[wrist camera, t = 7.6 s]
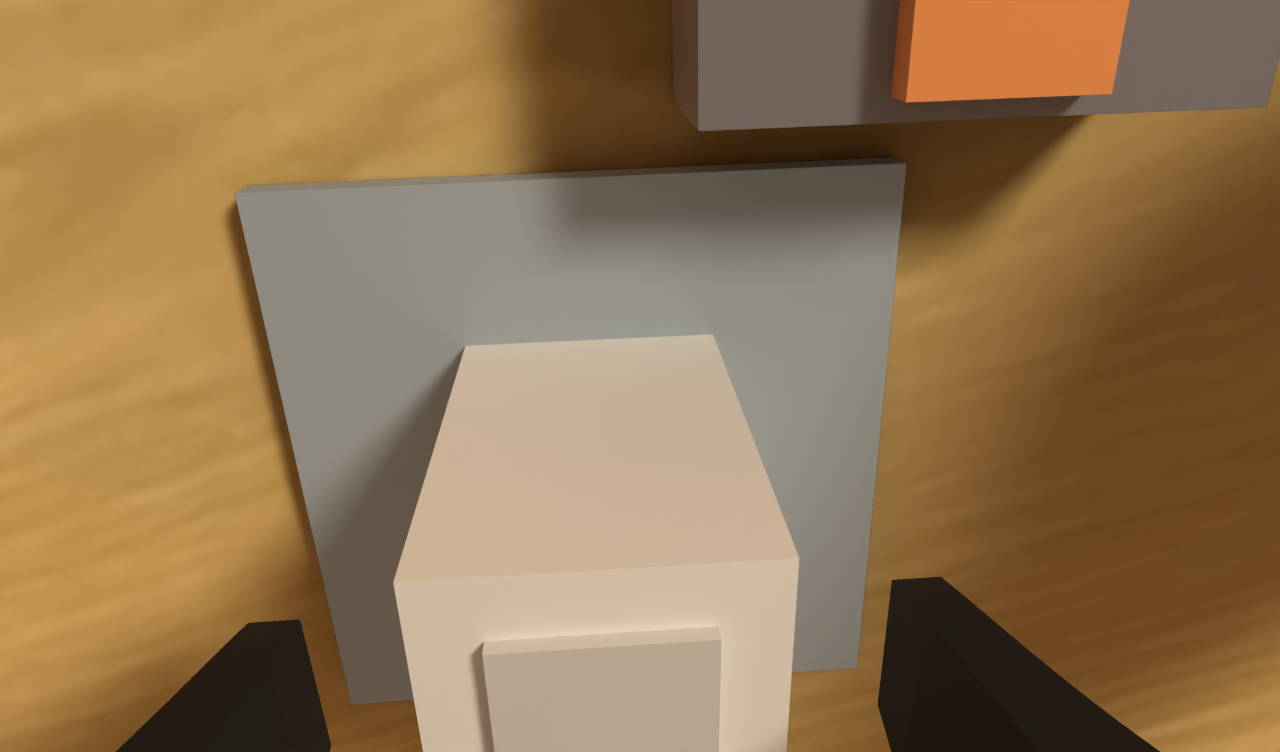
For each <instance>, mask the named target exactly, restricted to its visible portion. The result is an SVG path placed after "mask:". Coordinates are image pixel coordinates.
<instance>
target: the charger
mask: <svg viewBox="0 0 1280 752" xmlns="http://www.w3.org/2000/svg"><path fill="white" fill-rule="evenodd" d="M798 571H799V556H798V553H797V551H796V548H795V546H794V543H793V540H792V538H791V535H790V533H789V530H788V527H787V525H786V522H785V520H784V517H783V514H782V512H781V509H780V507H779V504H778V502H777V499H776V496H775V494H774V491H773V489H772V486H771V483H770V481H769V478H768V476H767V473H766V470H765V468H764V465H763V463H762V460H761V458H760V455H759V452H758V450H757V447H756V445H755V442H754V439H753V437H752V434H751V432H750V429H749V427H748V424H747V421H746V419H745V416H744V414H743V411H742V408H741V406H740V403H739V401H738V398H737V395H736V393H735V390H734V388H733V385H732V383H731V380H730V377H729V375H728V372H727V370H726V367H725V364H724V362H723V359H722V357H721V354H720V351H719V349H718V346H717V344H716V341H715V339H714V336H713V334H710V335H689V336H667V337H645V338H624V339H602V340H580V341H559V342H537V343H515V344H494V345H472V346H465V349H464V352H463V355H462V358H461V362H460V365H459V368H458V372H457V375H456V378H455V381H454V385H453V388H452V391H451V395H450V398H449V401H448V404H447V408H446V411H445V414H444V418H443V421H442V424H441V427H440V431H439V434H438V437H437V440H436V444H435V447H434V450H433V454H432V457H431V460H430V463H429V467H428V470H427V473H426V477H425V480H424V483H423V486H422V490H421V493H420V496H419V500H418V503H417V506H416V509H415V513H414V516H413V519H412V522H411V526H410V529H409V532H408V536H407V539H406V542H405V545H404V549H403V552H402V555H401V559H400V562H399V565H398V568H397V572H396V575H395V578H394V582H393V584H394V590H395V595H396V601H397V607H398V612H399V618H400V624H401V629H402V635H403V641H404V647H405V652H406V658H407V664H408V669H409V675H410V681H411V686H412V692H413V698H414V703H415V709H416V715H417V720H418V726H419V732H420V737H421V743H422V749H423V752H786V750H787V735H788V721H789V706H790V691H791V676H792V661H793V646H794V631H795V616H796V601H797V586H798Z"/></svg>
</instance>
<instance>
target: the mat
mask: <svg viewBox="0 0 1280 752" xmlns="http://www.w3.org/2000/svg"><path fill="white" fill-rule="evenodd" d="M906 165H907V163H905V162H903V161H902V160H900V159H898V158H896V157H887V158H865V159H842V160H819V161H797V162H774V163H751V164H729V165H706V166H684V167H661V168H638V169H616V170H593V171H570V172H548V173H525V174H502V175H480V176H457V177H435V178H412V179H389V180H367V181H344V182H321V183H299V184H276V185H253V186H245V187H244V188H242V189H241V190H239V191H237V192H236V193H235V197H236V202H237V206H238V210H239V215H240V219H241V223H242V228H243V232H244V237H245V241H246V245H247V250H248V254H249V259H250V263H251V267H252V272H253V276H254V280H255V285H256V289H257V294H258V298H259V302H260V307H261V311H262V316H263V320H264V324H265V329H266V333H267V337H268V342H269V346H270V351H271V355H272V359H273V364H274V368H275V372H276V377H277V381H278V386H279V390H280V394H281V399H282V403H283V408H284V412H285V416H286V421H287V425H288V429H289V434H290V438H291V443H292V447H293V451H294V456H295V460H296V465H297V469H298V473H299V478H300V482H301V486H302V491H303V495H304V500H305V504H306V508H307V513H308V517H309V522H310V526H311V530H312V535H313V539H314V543H315V548H316V552H317V557H318V561H319V565H320V570H321V574H322V579H323V583H324V587H325V592H326V596H327V600H328V605H329V609H330V614H331V618H332V622H333V627H334V631H335V636H336V640H337V644H338V649H339V653H340V657H341V662H342V666H343V671H344V675H345V679H346V684H347V688H348V693H349V697H350V701H351V705H358V704H371V703H385V702H399V701H412V700H414V698H413V692H412V686H411V681H410V675H409V669H408V664H407V658H406V652H405V647H404V641H403V635H402V629H401V624H400V618H399V612H398V607H397V601H396V595H395V590H394V584H393V582H394V578H395V575H396V572H397V568H398V565H399V562H400V559H401V555H402V552H403V549H404V545H405V542H406V539H407V536H408V532H409V529H410V526H411V522H412V519H413V516H414V513H415V509H416V506H417V503H418V500H419V496H420V493H421V490H422V486H423V483H424V480H425V477H426V473H427V470H428V467H429V463H430V460H431V457H432V454H433V450H434V447H435V444H436V440H437V437H438V434H439V431H440V427H441V424H442V421H443V418H444V414H445V411H446V408H447V404H448V401H449V398H450V395H451V391H452V388H453V385H454V381H455V378H456V375H457V372H458V368H459V365H460V362H461V358H462V355H463V352H464V349H465V346H472V345H494V344H515V343H537V342H559V341H580V340H602V339H624V338H645V337H667V336H689V335H710V334H713V336H714V339H715V341H716V344H717V346H718V349H719V351H720V354H721V357H722V359H723V362H724V364H725V367H726V370H727V372H728V375H729V377H730V380H731V383H732V385H733V388H734V390H735V393H736V395H737V398H738V401H739V403H740V406H741V408H742V411H743V414H744V416H745V419H746V421H747V424H748V427H749V429H750V432H751V434H752V437H753V439H754V442H755V445H756V447H757V450H758V452H759V455H760V458H761V460H762V463H763V465H764V468H765V470H766V473H767V476H768V478H769V481H770V483H771V486H772V489H773V491H774V494H775V496H776V499H777V502H778V504H779V507H780V509H781V512H782V514H783V517H784V520H785V522H786V525H787V527H788V530H789V533H790V535H791V538H792V540H793V543H794V546H795V548H796V551H797V553H798V556H799V571H798V586H797V601H796V616H795V631H794V646H793V661H792V673H796V672H810V671H823V670H837V669H851V668H857V665H858V655H859V645H860V635H861V624H862V614H863V604H864V594H865V584H866V573H867V563H868V553H869V543H870V532H871V522H872V512H873V502H874V492H875V481H876V471H877V461H878V451H879V441H880V430H881V420H882V410H883V400H884V389H885V379H886V369H887V359H888V349H889V338H890V328H891V318H892V308H893V297H894V287H895V277H896V267H897V257H898V246H899V236H900V226H901V216H902V206H903V195H904V185H905V175H906Z"/></svg>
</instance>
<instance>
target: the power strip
mask: <svg viewBox="0 0 1280 752" xmlns="http://www.w3.org/2000/svg"><path fill="white" fill-rule="evenodd" d="M671 10H672V81H673V101H674V102H675V103H676V104H677V106H678V107H679V108H680V109H681V110H682V112H683V113H684V114H685V115H686V117H687V118H688V119H689V120H690V122H691V123H692V124H693V125H694V126H695V128H696V129H697V130H698V131H716V130H740V129H764V128H787V127H811V126H835V125H858V124H882V123H906V122H929V121H953V120H977V119H1000V118H1024V117H1048V116H1072V115H1095V114H1119V113H1143V112H1166V111H1190V110H1214V109H1237V108H1261V107H1266V106H1267V103H1268V99H1269V95H1270V91H1271V87H1272V84H1273V80H1274V76H1275V72H1276V68H1277V65H1278V61H1279V57H1280V0H671Z"/></svg>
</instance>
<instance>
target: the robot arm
mask: <svg viewBox="0 0 1280 752" xmlns="http://www.w3.org/2000/svg"><path fill="white" fill-rule="evenodd" d="M878 707H879V710H880V714H881V717H882V721H883V724H884V728H885V731H886V734H887V738H888V741H889V745H890V748H891V751H892V752H1160V751H1158V750H1157V749H1156V748H1154V747H1153V746H1151V745H1150V744H1149V743H1147V742H1146V741H1145V740H1143V739H1142V738H1140V737H1139V736H1138V735H1136V734H1135V733H1134V732H1132V731H1131V730H1129V729H1128V728H1127V727H1125V726H1124V725H1123V724H1121V723H1120V722H1119V721H1117V720H1116V719H1115V718H1113V717H1112V716H1111V715H1109V714H1108V713H1107V712H1105V711H1104V710H1103V709H1101V708H1100V707H1099V706H1098V705H1096V704H1095V703H1094V702H1092V701H1091V700H1090V699H1088V698H1087V697H1086V696H1085V695H1083V694H1082V693H1081V692H1080V691H1078V690H1077V689H1076V688H1074V687H1073V686H1072V685H1071V684H1069V683H1068V682H1067V681H1066V680H1064V679H1063V678H1062V677H1061V676H1059V675H1058V674H1057V673H1056V672H1054V671H1053V670H1052V669H1051V668H1049V667H1048V666H1047V665H1046V664H1045V663H1043V662H1042V661H1041V660H1040V659H1039V658H1037V657H1036V656H1035V655H1034V654H1032V653H1031V652H1030V651H1029V650H1028V649H1026V648H1025V647H1024V646H1023V645H1022V644H1020V643H1019V642H1018V641H1017V640H1016V639H1014V638H1013V637H1012V636H1011V635H1010V634H1008V633H1007V632H1006V631H1005V630H1004V629H1002V628H1001V627H1000V626H999V625H998V624H997V623H995V622H994V621H993V620H992V619H991V618H989V617H988V616H987V615H986V614H985V613H984V612H982V611H981V610H980V609H979V608H978V607H976V606H975V605H974V604H973V603H972V602H971V601H969V600H968V599H967V598H966V597H965V596H963V595H962V594H961V593H960V592H959V591H957V590H956V589H955V588H954V587H953V586H951V585H950V584H949V583H948V582H946V581H945V580H944V579H943V578H941V577H931V578H916V579H901V580H892V585H891V593H890V602H889V611H888V620H887V628H886V637H885V646H884V655H883V664H882V672H881V681H880V690H879V699H878ZM330 747H331V743H330V739H329V735H328V731H327V727H326V723H325V719H324V715H323V711H322V707H321V702H320V698H319V694H318V690H317V686H316V682H315V678H314V674H313V670H312V666H311V662H310V658H309V654H308V650H307V646H306V642H305V638H304V634H303V630H302V626H301V622H300V620H286V621H271V622H256V623H248V624H247V625H246V626H245V627H244V628H243V629H241V630H240V631H239V632H238V633H237V634H236V635H235V636H234V637H233V638H232V639H231V640H230V641H229V642H228V643H227V644H226V645H225V646H224V647H223V648H222V649H221V650H220V651H219V652H218V653H217V654H216V655H215V656H214V657H213V658H211V659H210V660H209V661H208V662H207V663H206V664H205V665H204V666H203V667H202V668H201V669H200V670H199V671H198V672H197V673H196V674H195V675H194V676H193V677H192V678H191V679H190V680H189V681H188V682H187V683H186V684H185V685H184V686H183V687H182V688H181V689H180V690H179V691H178V692H177V693H176V694H175V695H174V696H173V697H172V698H171V699H170V700H169V701H168V702H167V703H166V704H165V705H164V706H163V707H162V708H161V709H160V710H159V711H158V712H157V713H156V714H155V715H154V716H153V717H151V718H150V719H149V720H148V721H147V722H146V723H145V724H144V725H143V726H142V727H141V728H140V729H139V730H138V731H137V732H136V733H135V734H134V735H133V736H132V737H131V738H130V739H129V740H128V741H127V742H126V743H124V744H123V745H122V746H121V747H120V748H119V749H118V750H117V751H116V752H330Z"/></svg>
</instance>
